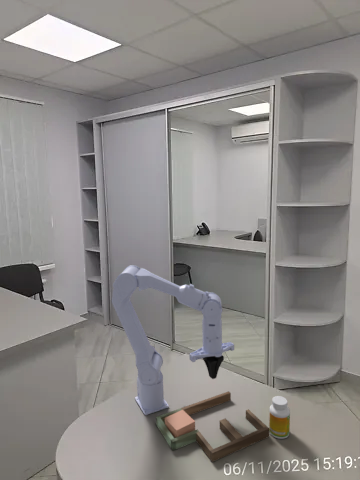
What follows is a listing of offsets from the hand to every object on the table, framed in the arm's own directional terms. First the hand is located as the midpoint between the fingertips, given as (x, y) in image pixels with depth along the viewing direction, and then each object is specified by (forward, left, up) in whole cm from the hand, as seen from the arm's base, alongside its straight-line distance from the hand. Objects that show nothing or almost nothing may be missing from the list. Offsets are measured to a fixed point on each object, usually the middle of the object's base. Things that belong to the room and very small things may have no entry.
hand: (212, 377), depth 105 cm
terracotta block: (+5, -14, -10) cm, 18 cm away
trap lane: (+8, -6, -10) cm, 14 cm away
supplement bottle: (+18, +10, -10) cm, 23 cm away
